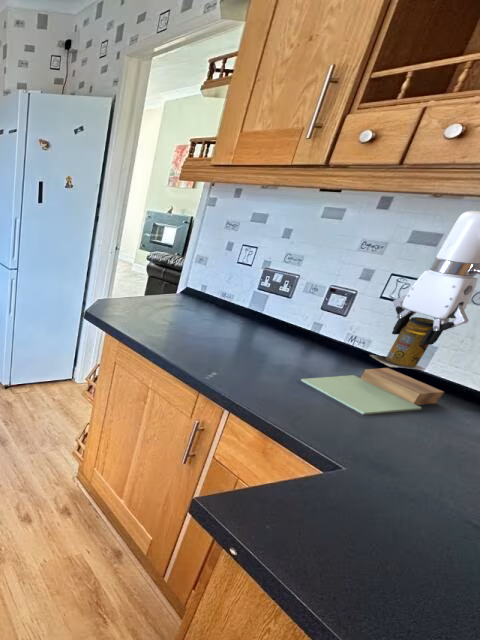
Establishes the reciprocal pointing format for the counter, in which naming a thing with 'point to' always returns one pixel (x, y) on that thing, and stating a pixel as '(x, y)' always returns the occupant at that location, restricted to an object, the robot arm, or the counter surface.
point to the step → (402, 386)
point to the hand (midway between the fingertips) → (411, 338)
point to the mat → (360, 395)
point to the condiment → (408, 345)
